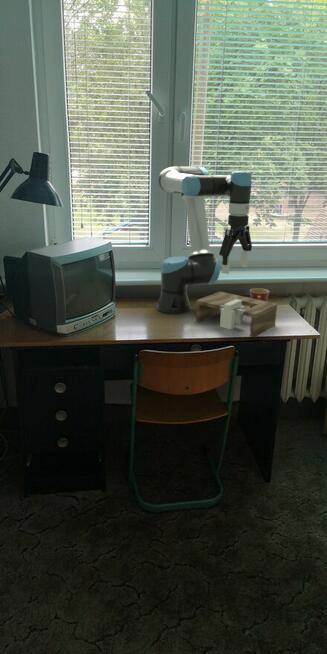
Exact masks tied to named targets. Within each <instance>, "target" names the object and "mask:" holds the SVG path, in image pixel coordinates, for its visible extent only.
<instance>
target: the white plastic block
mask: <svg viewBox="0 0 327 654" xmlns="http://www.w3.org/2000/svg"><path fill="white" fill-rule="evenodd" d="M236 308H238V309H242V310H245V305H243V304H242V300H239V299H235V300H233V301H230V302H228V303H226V304H224V308H223V309H221V313H220V319H219V321H220V323H219V327H221V328H224V329H227V330H232V329H234V327H235V326H234V325H236V324H237V325H242V324H244V315H241V314H237V313H235V311H234V309H236Z"/></svg>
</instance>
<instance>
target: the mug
mask: <svg viewBox="0 0 327 654" xmlns="http://www.w3.org/2000/svg"><path fill="white" fill-rule="evenodd" d="M270 293H271V292H270V290H268V289H267V288H266V289H265V288H260V287H256V288H251V289H249V295H250V298H253V299H257V300H262V301H266V302H268V299H269V298H268V297H269V296H270V295H269V294H270ZM249 308H252V306H249Z"/></svg>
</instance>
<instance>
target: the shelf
mask: <svg viewBox="0 0 327 654" xmlns="http://www.w3.org/2000/svg"><path fill="white" fill-rule="evenodd" d="M235 299H239V300H242V306H248V307H249V308H248V309H244V310H242V309H238V308H236V309H234V311H235V313H237V314H241V315H243V316H245V317H249V318H250V327H249V328H250V332H249V337H252V338H255V337H257V336H259V335H260V334H262V333H264V332H267V330H270V329H271V328H273V327H275V326H276V319H277V309H278V308H277V307H278V303H275V302H271V301H267V302H266V301H262V300H257V299H253V298H251V297H246V296H244V295H243V296H242V295H238V294H233V293H228V292H225V291H220V290H219V291H217V292H214V293H211V294H209V295H205V296H204V297H201V298H198V299H197V300H195V323H201V322H203V321H206V320H208V319H210V318H213V317H215V316H218V315H219V314H220V315H221V309H223V308H224V304H226V303H228V302H230V301H233V300H235ZM250 306H252V308H250Z"/></svg>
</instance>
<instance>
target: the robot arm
mask: <svg viewBox="0 0 327 654" xmlns="http://www.w3.org/2000/svg"><path fill="white" fill-rule="evenodd" d="M157 182H158V183H157V184H158V186H159V188H160V189H161V190H162V191H163V192H166V193H169V194H181V199H182V200H184V202H185V207H186V208H185V209H186V216H187V217H186V219H187V228H188V235H189V236H188V237H189V244H190V253H189V255H188V256H183V255H181V256H178V255H177V256H171V257H167V258H165V259H164V260H162V262H161V268H160V273H161V274H160V275H161V276H160V277H161V278H160V287H161V288H160V294H159V297H158V300H157V303H156V309H157V310H158V311H159V312H162V313H165V314H182V313H187V312H189V311H190V310H191V302H190V300H189V296H188V293H187V291H188V290H187V288H188V287H190V286H202V285H203V286H207V285H212V284H216V282H217V281H218V280H219V277H220V273H222V274H227V275H229V274H230V267H231V265H230V264H231V256H230V254H231V253H232V252H231V251H232V250H233V247H234V246H235V243H236V242H238V241H239V244H240V245H241V248H242V250H241V254H240V268H241V267H242V268H248V262H249V261H248V260H249V251H250V252H251V251H252V248H253V245H252V238H251V233H250V225H249V214H250V208H251V207H250V204H251V203H250V201H251V192H252V182H253V181H252V173H251V172H250V171H245V170H244V171H242V170H241V171H240V170H239V171H238V170H237V171H235V170H234V171H232V172H231V175H230V174H221V175H210V173H209V171H208V170H207V169H206V168H205V167H204V166H197V165H195V166H169V167H167V168H165V169H162V171H161V172H160V173H159V175H158V179H157ZM224 196H225V197H229V201H228V202H229V203H228V218H227V224H228V225H229V226H230V228H229V229H228V228H225V230H224V231H225V232H224V238H223V240H222V243H221V247H220V250H219V253H218V254H219V256H221V257H222V265H221V263H220V261H219V259H218V258H216V257H215V254H214V252H212V251H211V248H210V240H209V238H210V237H209V230H208V222H207V214H206V204H205V203H206V202H205V198H206V197H224ZM221 267H222V268H221Z"/></svg>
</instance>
